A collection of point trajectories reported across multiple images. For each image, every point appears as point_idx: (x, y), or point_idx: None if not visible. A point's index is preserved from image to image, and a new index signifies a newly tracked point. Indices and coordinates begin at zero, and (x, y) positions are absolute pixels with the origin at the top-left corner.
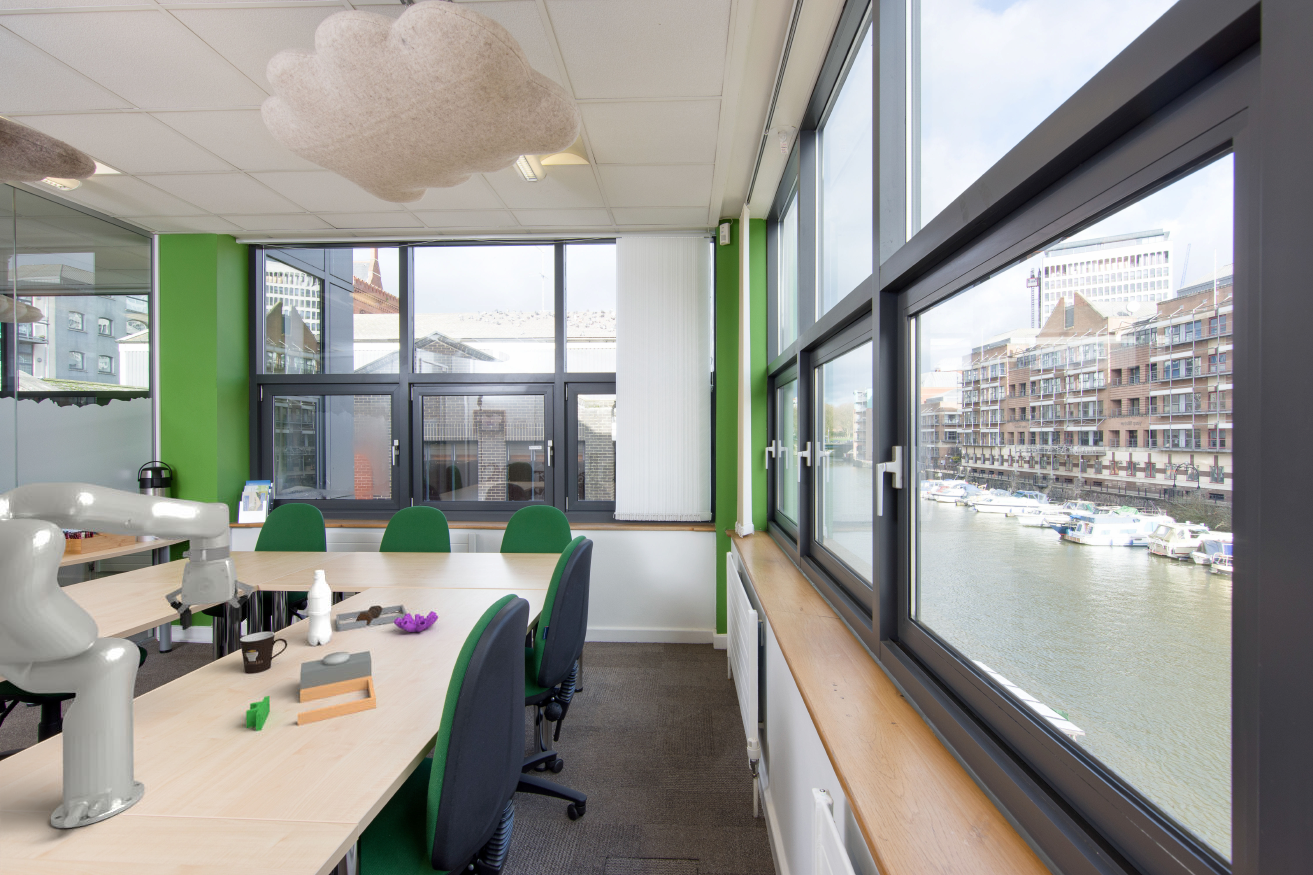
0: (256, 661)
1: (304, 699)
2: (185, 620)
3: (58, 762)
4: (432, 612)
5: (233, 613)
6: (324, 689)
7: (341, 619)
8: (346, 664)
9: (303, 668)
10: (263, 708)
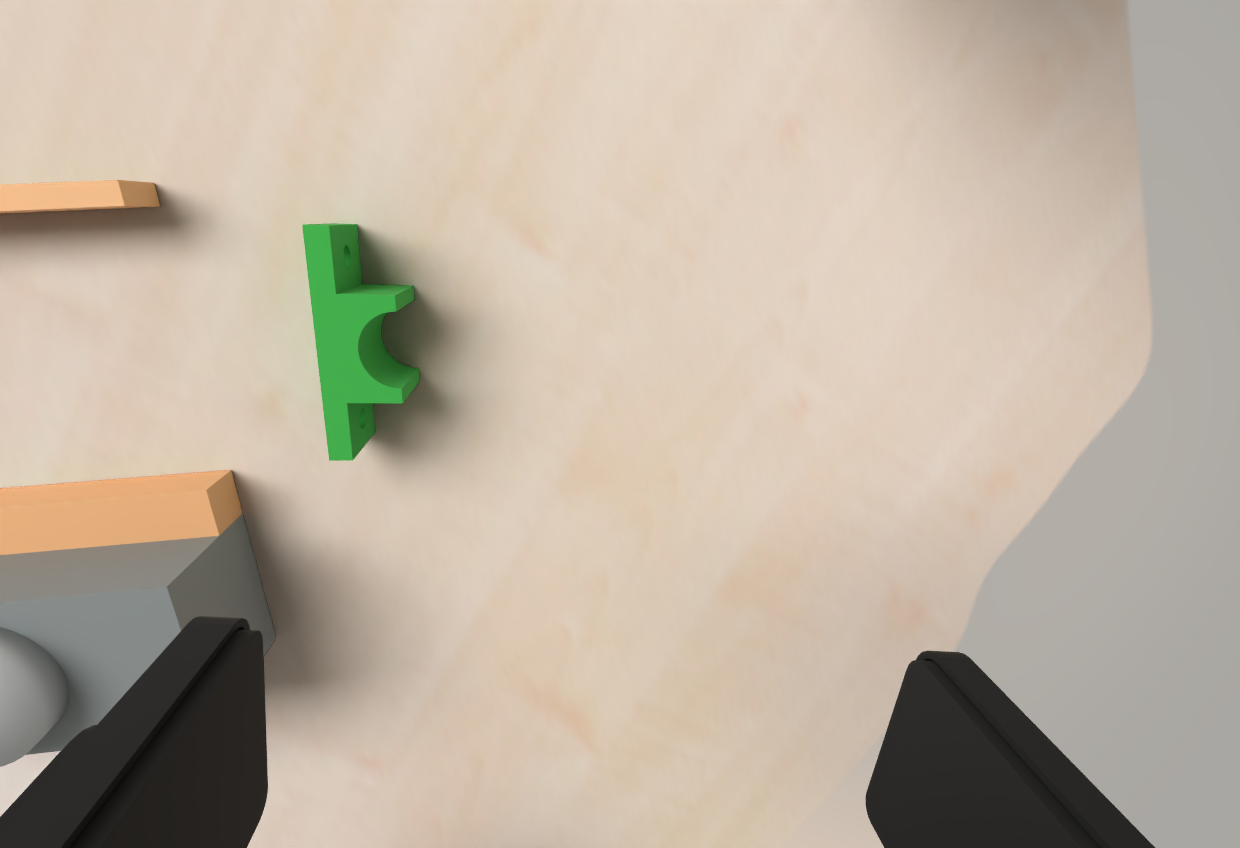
0: None
1: (206, 476)
2: (1024, 769)
3: (1035, 319)
4: None
5: (56, 794)
6: (89, 497)
7: None
8: None
9: None
10: (311, 294)
